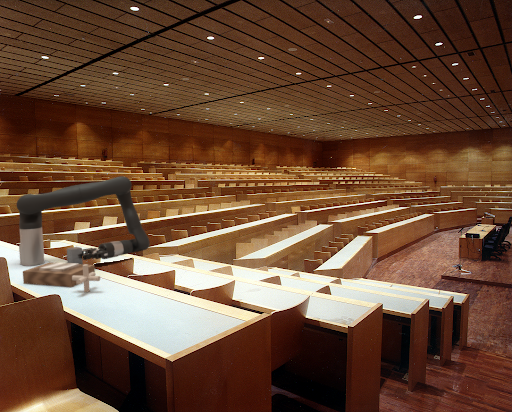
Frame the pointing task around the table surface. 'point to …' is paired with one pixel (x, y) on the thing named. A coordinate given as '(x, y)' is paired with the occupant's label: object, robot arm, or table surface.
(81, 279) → the pipe connector
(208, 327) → the table surface
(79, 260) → the block
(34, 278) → the brown wooden block
